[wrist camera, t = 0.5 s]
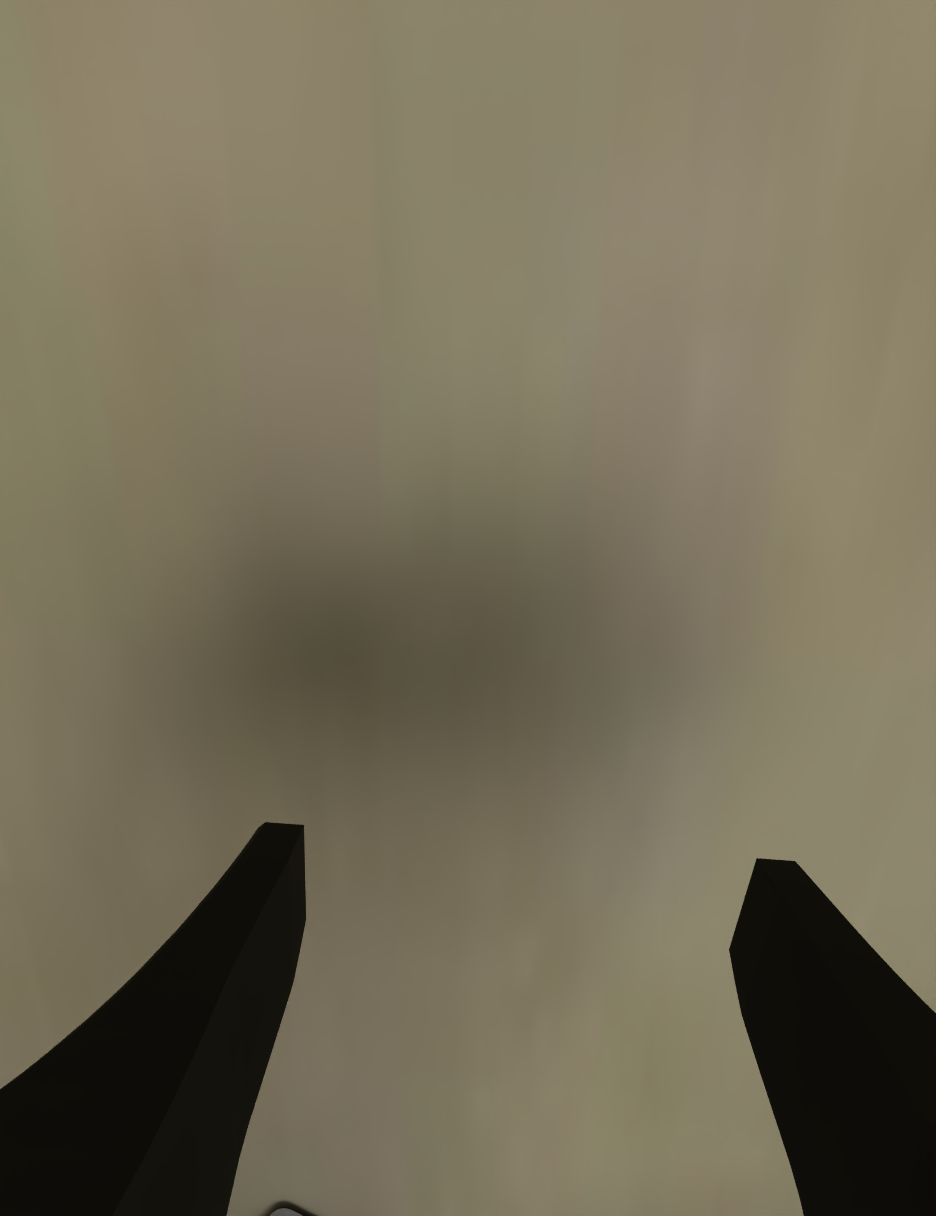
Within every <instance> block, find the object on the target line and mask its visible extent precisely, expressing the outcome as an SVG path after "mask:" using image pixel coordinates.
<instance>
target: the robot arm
mask: <svg viewBox="0 0 936 1216" xmlns="http://www.w3.org/2000/svg"><path fill="white" fill-rule="evenodd" d="M305 922H306V895H305V853H304V825H296V824H282V823H269V822H265V823H264V824H263V825H261V826H260V827H259V828H258V829H257V830H256V832H255V833H254V835H253V836H252V838H251V839H250V840H249V842H248V843H247V845H246V846H245V847H244V849H243V850H242V851H241V853H240V854H239V855H238V857H237V858H236V859H235V861H234V862H233V863H232V865H231V866H230V867H229V869H228V870H227V871H226V872H225V874H224V875H223V876H222V877H221V879H220V880H219V881H218V882H217V884H216V885H215V886H214V887H213V889H212V890H211V891H210V892H209V893H208V894H207V896H206V897H205V898H204V899H203V900H202V902H201V903H200V904H199V905H198V906H197V907H196V909H195V910H194V911H193V912H192V913H191V915H190V916H189V917H188V918H187V919H186V920H185V922H184V923H183V924H182V925H181V926H180V927H179V928H178V929H177V930H176V932H175V933H174V934H173V935H172V936H171V937H170V938H169V939H168V940H167V941H166V942H165V943H164V944H163V945H162V946H161V947H160V949H159V950H158V951H157V952H156V953H155V954H154V955H153V956H152V957H151V958H150V959H149V960H148V961H147V962H146V963H145V964H144V966H143V967H142V968H141V969H140V970H139V971H138V972H137V973H136V974H135V975H134V976H133V977H132V978H131V979H130V980H128V981H127V982H126V983H125V984H124V985H123V986H122V987H121V988H120V989H119V990H118V991H117V992H116V993H115V994H114V995H113V996H112V997H111V998H110V999H109V1000H108V1001H106V1002H105V1003H104V1004H103V1005H102V1006H101V1007H100V1008H99V1009H98V1010H97V1011H95V1012H94V1013H93V1014H92V1015H91V1016H90V1017H89V1018H88V1019H87V1020H86V1021H84V1022H83V1023H82V1024H81V1025H80V1026H79V1027H77V1028H76V1029H75V1030H74V1031H73V1032H71V1033H70V1034H69V1035H68V1036H67V1037H65V1038H64V1039H63V1040H62V1041H61V1042H60V1043H58V1044H57V1045H56V1046H55V1047H54V1048H52V1049H51V1050H50V1051H49V1052H48V1053H47V1054H45V1055H44V1056H43V1057H42V1058H40V1059H39V1060H38V1061H37V1062H35V1063H34V1064H33V1065H32V1066H30V1067H29V1068H28V1069H27V1070H25V1071H24V1072H23V1073H21V1074H20V1075H19V1076H18V1077H16V1078H15V1079H14V1080H12V1081H11V1082H9V1083H8V1084H7V1085H5V1086H4V1087H3V1088H1V1089H0V1216H226V1215H227V1210H228V1206H229V1201H230V1197H231V1193H232V1188H233V1184H234V1179H235V1175H236V1170H237V1166H238V1161H239V1157H240V1154H241V1150H242V1146H243V1143H244V1139H245V1135H246V1132H247V1128H248V1125H249V1121H250V1118H251V1115H252V1112H253V1109H254V1106H255V1103H256V1099H257V1096H258V1093H259V1090H260V1087H261V1084H262V1081H263V1077H264V1074H265V1071H266V1068H267V1065H268V1062H269V1058H270V1055H271V1052H272V1049H273V1046H274V1043H275V1040H276V1036H277V1033H278V1030H279V1027H280V1024H281V1020H282V1017H283V1014H284V1011H285V1008H286V1004H287V1001H288V998H289V995H290V992H291V988H292V985H293V982H294V977H295V972H296V967H297V962H298V957H299V953H300V947H301V942H302V937H303V932H304V927H305ZM729 952H730V957H731V963H732V968H733V974H734V979H735V985H736V989H737V994H738V999H739V1004H740V1009H741V1013H742V1017H743V1020H744V1023H745V1027H746V1030H747V1033H748V1036H749V1039H750V1042H751V1046H752V1049H753V1052H754V1055H755V1058H756V1061H757V1064H758V1068H759V1071H760V1074H761V1077H762V1080H763V1083H764V1086H765V1089H766V1092H767V1095H768V1098H769V1101H770V1104H771V1107H772V1110H773V1113H774V1116H775V1119H776V1122H777V1125H778V1129H779V1132H780V1135H781V1138H782V1141H783V1144H784V1147H785V1150H786V1153H787V1156H788V1159H789V1162H790V1165H791V1169H792V1172H793V1176H794V1179H795V1183H796V1186H797V1190H798V1193H799V1197H800V1201H801V1205H802V1210H803V1214H804V1216H936V1013H935V1012H934V1011H933V1010H932V1009H931V1008H930V1007H929V1006H928V1005H927V1004H926V1003H925V1002H924V1001H923V1000H922V999H921V998H920V997H919V996H918V995H917V994H916V993H915V992H914V991H913V990H912V989H911V988H910V987H909V986H908V985H907V984H906V983H905V982H904V981H903V980H902V979H901V978H900V977H899V976H898V975H897V974H896V973H895V972H894V971H893V970H892V968H891V967H890V966H889V965H888V964H887V963H886V962H885V961H884V960H883V959H882V958H881V957H880V956H879V955H878V953H877V952H876V951H875V950H874V949H873V948H872V947H871V946H870V945H869V944H868V943H867V941H866V940H865V939H864V938H863V937H862V936H861V935H860V934H859V933H858V932H857V930H856V929H855V928H854V927H853V926H852V925H851V924H850V923H849V921H848V920H847V919H846V918H845V917H844V916H843V915H842V914H841V912H840V911H839V910H838V909H837V908H836V907H835V906H834V905H833V903H832V902H831V901H830V900H829V899H828V898H827V897H826V895H825V894H824V893H823V892H822V891H821V890H820V889H819V887H818V886H817V885H816V884H815V883H814V882H813V881H812V879H811V878H810V877H809V876H808V875H807V874H806V873H805V872H804V871H803V869H802V868H801V867H800V866H799V865H798V864H797V863H796V862H795V861H786V860H772V859H758V858H757V859H756V862H755V866H754V869H753V872H752V876H751V879H750V882H749V885H748V889H747V892H746V895H745V899H744V902H743V905H742V909H741V912H740V915H739V919H738V922H737V925H736V928H735V932H734V935H733V938H732V942H731V945H730V948H729ZM270 1216H302V1215H301V1214H299V1213H297V1212H295V1211H293V1210H290V1209H287V1208H281V1209H278V1210H276V1211H274V1212H273V1213H272V1214H271V1215H270Z"/></svg>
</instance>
